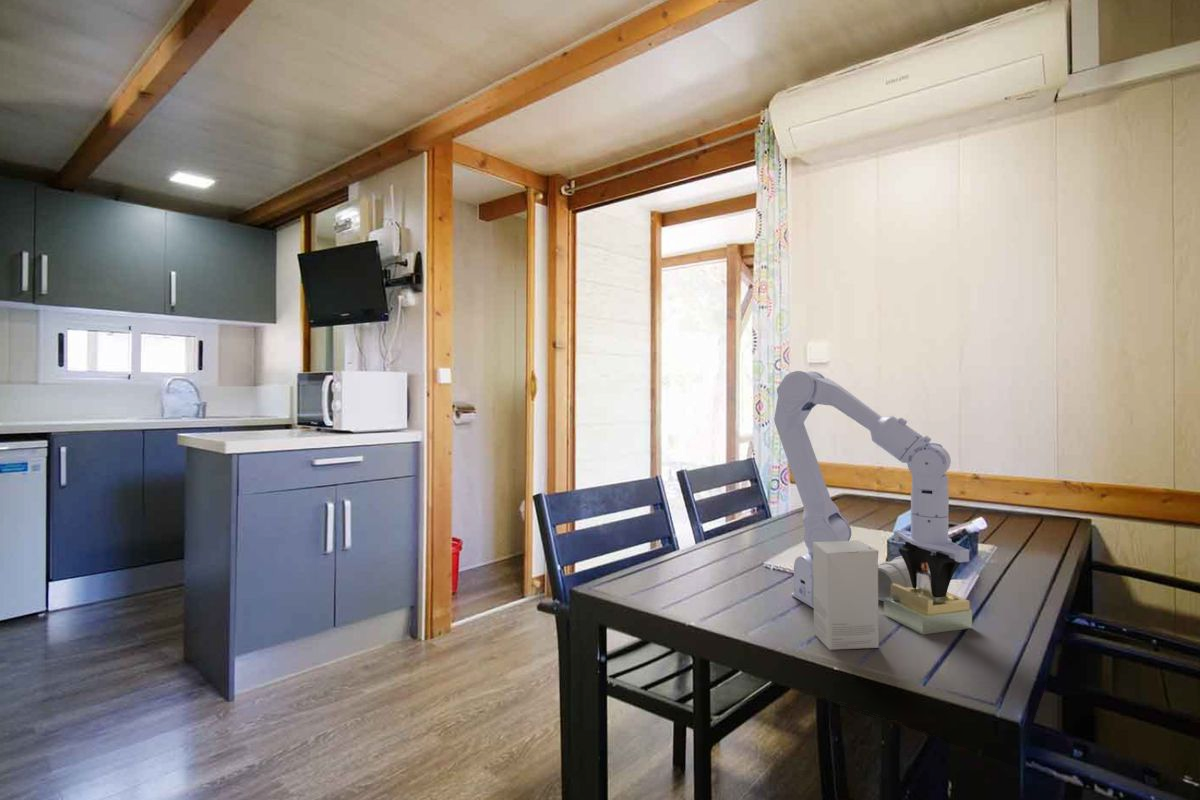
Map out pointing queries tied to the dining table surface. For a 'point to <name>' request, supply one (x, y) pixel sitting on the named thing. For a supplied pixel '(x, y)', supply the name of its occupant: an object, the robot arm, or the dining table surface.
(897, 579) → the mug
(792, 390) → the robot arm
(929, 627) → the tan and green box
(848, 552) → the skincare box
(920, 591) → the spout can
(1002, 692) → the dining table surface
